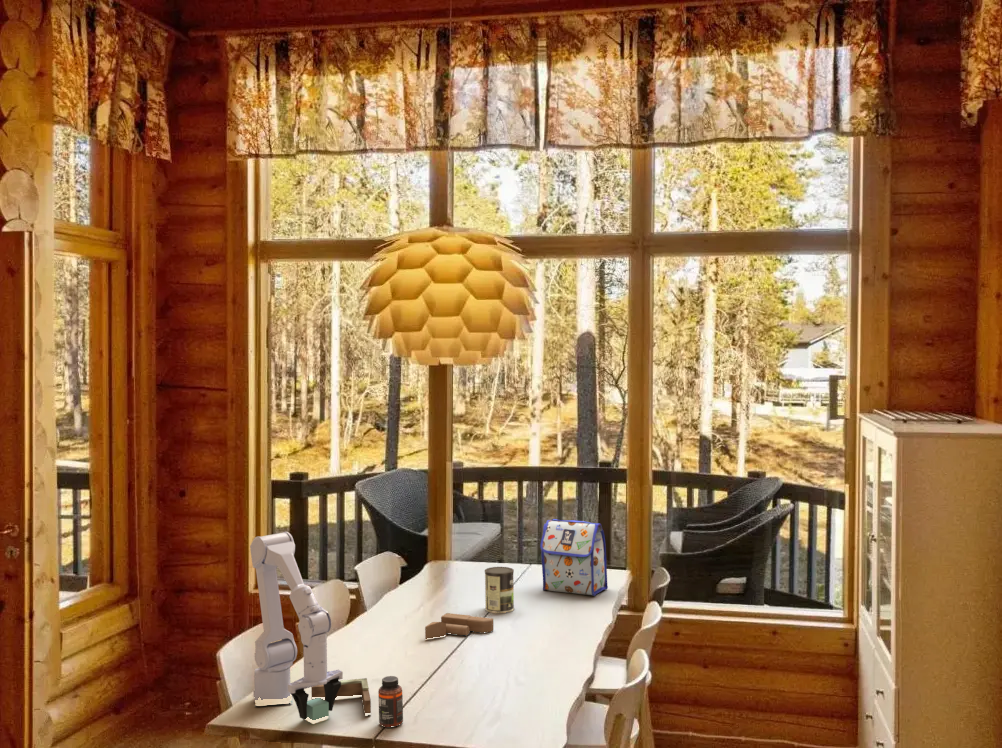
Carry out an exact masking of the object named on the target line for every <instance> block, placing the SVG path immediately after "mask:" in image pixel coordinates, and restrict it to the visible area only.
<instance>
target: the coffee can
mask: <svg viewBox="0 0 1002 748" xmlns="http://www.w3.org/2000/svg"><path fill="white" fill-rule="evenodd" d="M484 580H485V581H484V583H485V584H484V585H485V586H484V587H485V588H484V589H485V591H484V592H485V594H484V597H485V609H486V610H487V611H488V613H491V614H507V613H506V612H508V613H511V612H513V611H514V610H515V605H514V603H515V601H514V598H515V597H514V596H515V595H514V594H515V593H514V569H513V568H511V567H508V566H492V567H487V568H486V569H484ZM486 610H485V611H486ZM487 611H486V612H487Z"/></svg>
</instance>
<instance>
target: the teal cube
mask: <svg viewBox="0 0 1002 748" xmlns="http://www.w3.org/2000/svg"><path fill="white" fill-rule="evenodd" d="M329 714H330V711H329V702H327V701H325V700H323V699H321V698H315V699H312V698H311V699H308V700H307V717H309V718H310V719H312V720H316V719H319V718H322V717H325V716H329V717H330V715H329Z"/></svg>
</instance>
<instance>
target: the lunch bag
mask: <svg viewBox="0 0 1002 748" xmlns="http://www.w3.org/2000/svg"><path fill="white" fill-rule="evenodd" d="M540 540H541V541H540V545H539V547H540V550H541V551H540V552H541V554H540V555H541V568H542V569H541V570H542V571H541V572H542V573H541V574H542V591H546V590H547V591H550V592H559V593H569V594H578V595H585V596H593V597H596V595H597V594H599V593H601V592H602V591H604V590H607V589H608V588H609V586H608V570H607V566H608V565H607V547H606V539H605V532H604V530H603V527H602V524H601V523H599V522H598V523H597V522H595V523H594V522H589V521H583V520H576V519H575V520H574V519H573V520H570V519H569V520H563V519H561V520H560V519H556V518H553V519H547V520H546V523H544V524H543V529H542V537H541V539H540Z"/></svg>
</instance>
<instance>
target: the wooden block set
mask: <svg viewBox="0 0 1002 748" xmlns="http://www.w3.org/2000/svg"><path fill="white" fill-rule="evenodd" d="M440 619H441V620H440V621H432V622H431V623H429V624H427V625H425V627H424V631H425V632H424V633H425V634H424V637H425V638H424V640H425V639H427V638H433V637H440V636H444V635H446V636H447V634H446V633H451V634H457V635H456V636H460V635H466V636H465V637H468V636H469V635H468V634H470V632H469V631H474V632H473V633H476V632H481V633H480V634H485V633H484V632H488V633H492V632H493V631H494V618H490V617H484V616H483V617H481V616H472V615H470V614H469V615H468V614H462V613H461V614H460V613H459V614H457V613H451V612H450V613H449V612H447V613H445V614H443V615H442V616H441V617H440ZM491 631H492V632H491ZM451 634H450V635H451ZM467 635H468V636H467Z"/></svg>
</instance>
